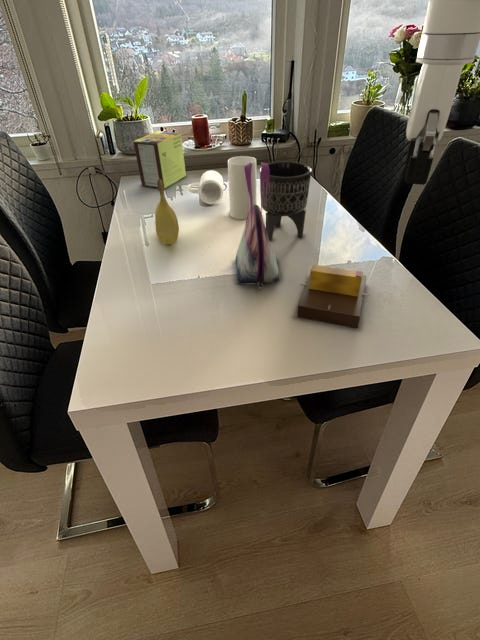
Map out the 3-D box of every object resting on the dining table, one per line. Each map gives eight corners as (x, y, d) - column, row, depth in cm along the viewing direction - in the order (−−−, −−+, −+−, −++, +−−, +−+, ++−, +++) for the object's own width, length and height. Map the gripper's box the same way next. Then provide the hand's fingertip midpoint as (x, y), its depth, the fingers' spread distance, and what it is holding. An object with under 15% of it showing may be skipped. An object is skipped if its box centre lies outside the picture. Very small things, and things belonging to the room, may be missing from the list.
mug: (224, 193, 130) (222, 169, 125) (224, 204, 123) (222, 179, 118) (189, 194, 130) (187, 171, 125) (187, 205, 123) (184, 181, 118)
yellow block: (309, 288, 78) (311, 269, 75) (311, 282, 80) (313, 263, 77) (358, 296, 76) (362, 277, 73) (359, 290, 77) (363, 270, 74)
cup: (225, 216, 115) (222, 162, 105) (237, 206, 121) (236, 154, 111) (249, 221, 112) (248, 166, 102) (260, 211, 118) (261, 157, 107)
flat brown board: (306, 277, 87) (307, 266, 85) (369, 287, 83) (372, 275, 81) (291, 316, 76) (292, 303, 74) (363, 329, 72) (366, 317, 70)
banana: (154, 225, 112) (141, 155, 99) (174, 222, 113) (163, 153, 100) (162, 262, 95) (147, 183, 82) (184, 259, 96) (173, 180, 83)
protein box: (186, 175, 146) (181, 132, 136) (164, 189, 135) (157, 143, 125) (164, 173, 149) (157, 130, 140) (140, 185, 139) (132, 140, 129)
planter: (309, 226, 108) (316, 163, 97) (299, 247, 99) (305, 179, 87) (266, 221, 112) (268, 159, 100) (253, 241, 102) (252, 174, 91)
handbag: (284, 295, 82) (290, 181, 66) (238, 298, 82) (234, 183, 66) (272, 248, 98) (274, 147, 83) (234, 250, 98) (229, 149, 82)
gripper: (417, 45, 60) (392, 157, 71) (419, 55, 47) (389, 189, 58) (469, 44, 58) (435, 160, 69) (486, 54, 45) (442, 194, 56)
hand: (414, 173), depth 63 cm, fingers open, 9 cm apart
